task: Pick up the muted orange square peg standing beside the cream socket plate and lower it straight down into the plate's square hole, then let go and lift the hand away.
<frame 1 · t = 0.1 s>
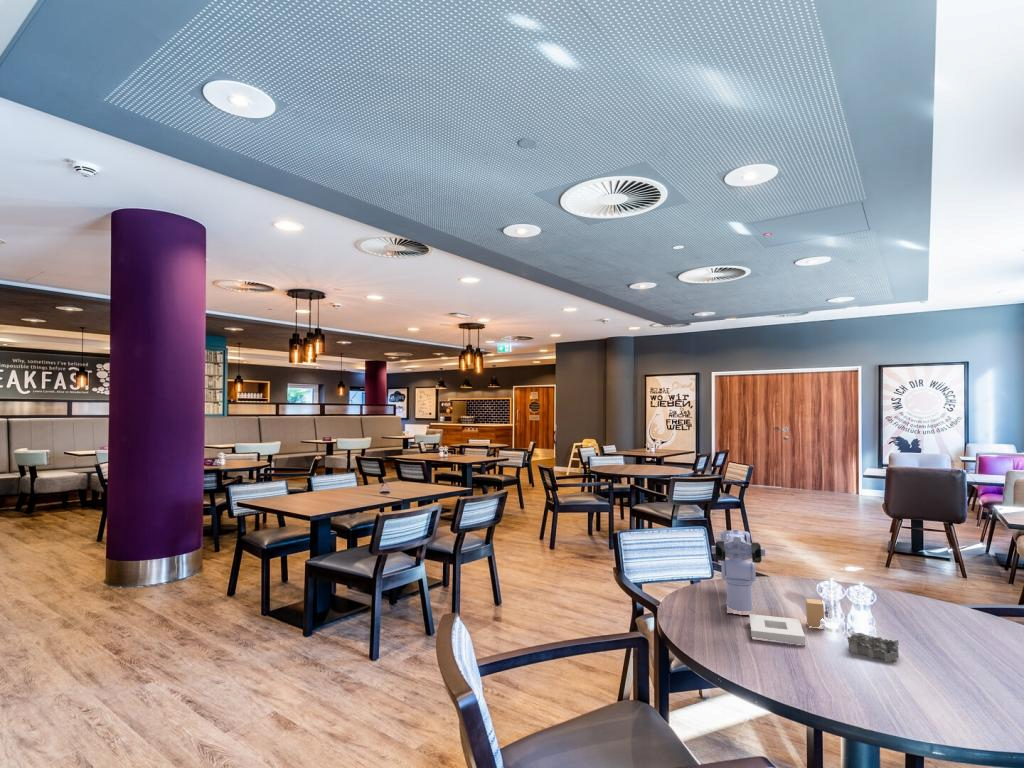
hand: (738, 555, 154), 22 cm above the table, tool horizontal, fingers open, 7 cm apart
egg carton: (873, 654, 140), on the table
socket plate: (776, 633, 153), on the table
peg: (815, 626, 158), on the table
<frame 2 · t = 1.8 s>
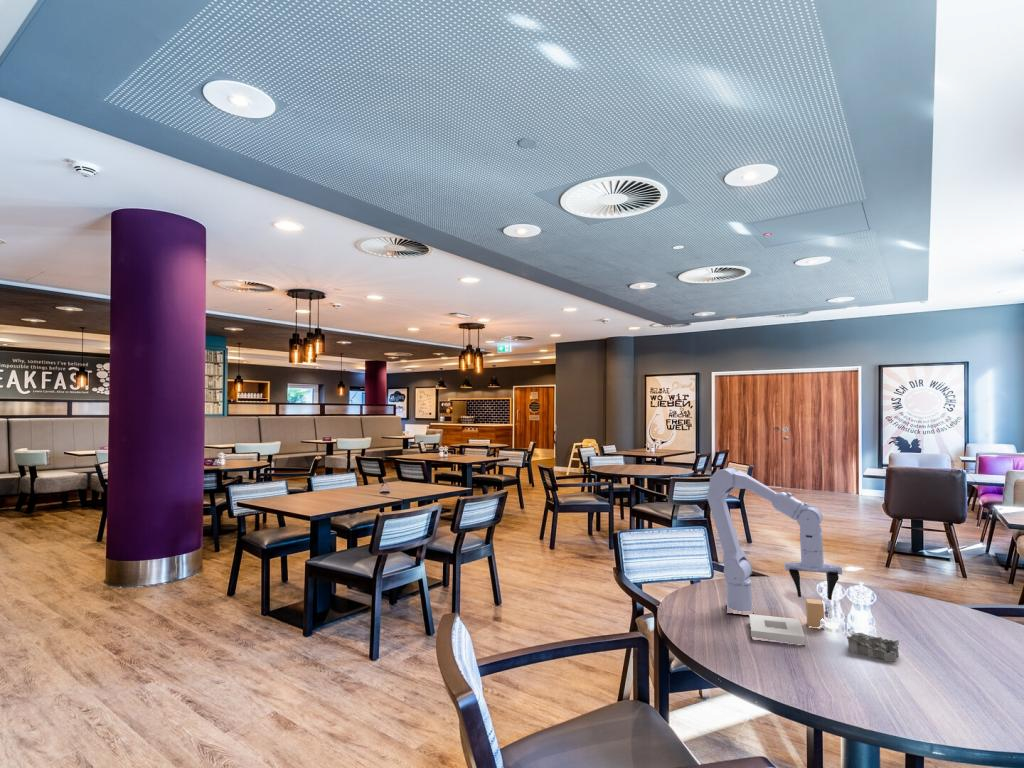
hand: (814, 597, 158), 8 cm above the table, tool pointing down, fingers open, 7 cm apart
nothing on the table moved.
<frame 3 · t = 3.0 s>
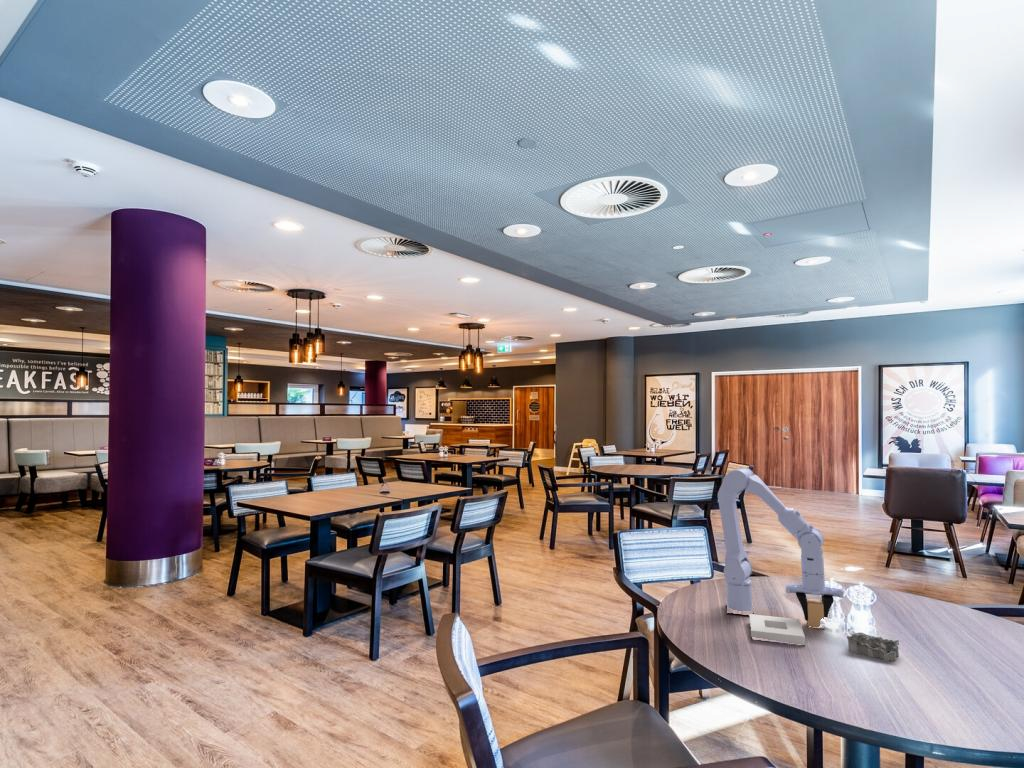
hand: (815, 620, 158), 2 cm above the table, tool pointing down, fingers closed on peg, 4 cm apart
peg: (815, 626, 158), on the table, touching gripper
everything else where it was.
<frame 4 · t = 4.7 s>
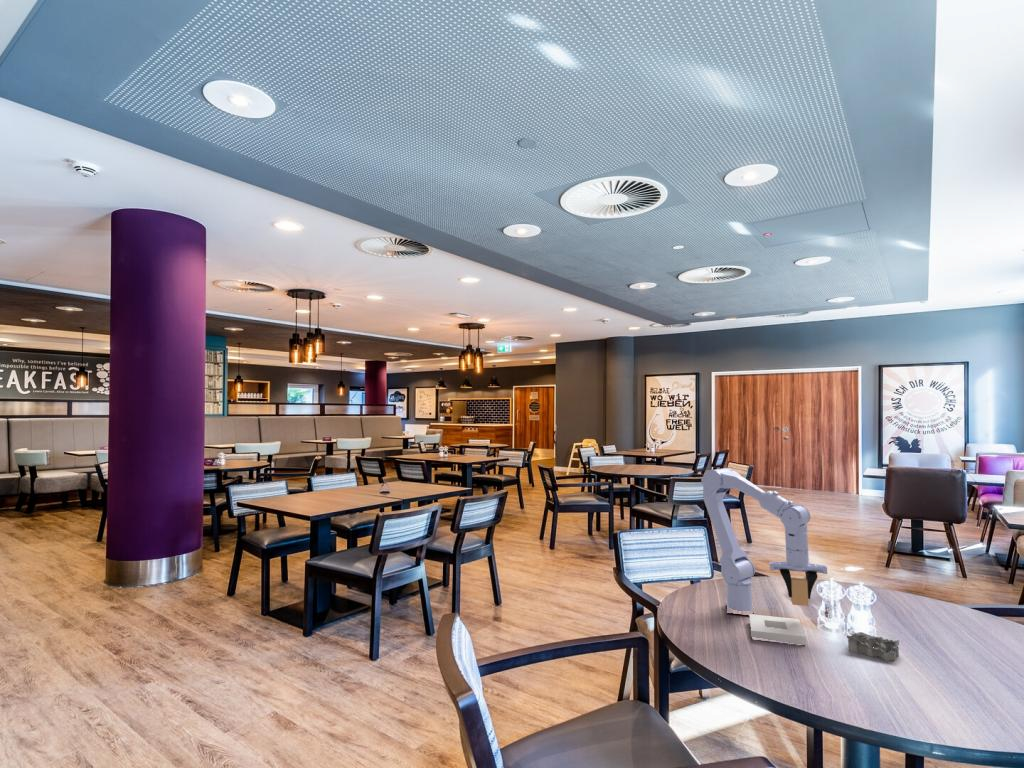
hand: (799, 597, 157), 9 cm above the table, tool pointing down, fingers closed on peg, 4 cm apart
peg: (799, 603, 156), point 7 cm above the table, touching gripper
everything else where it was.
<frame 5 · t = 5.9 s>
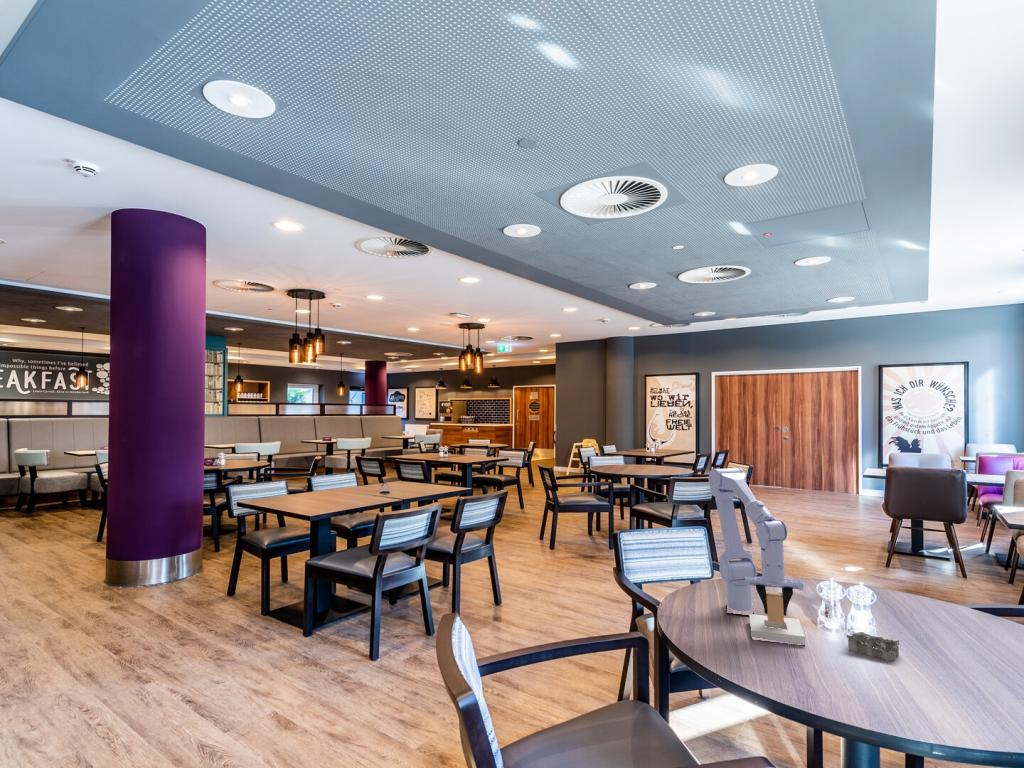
hand: (775, 613, 153), 6 cm above the table, tool pointing down, fingers closed on peg, 4 cm apart
peg: (775, 619, 153), point 4 cm above the table, touching gripper
everything else where it was.
when the fingers open (3 cm above the table, at t = 6.8 s): peg drops 1 cm, resting in socket plate.
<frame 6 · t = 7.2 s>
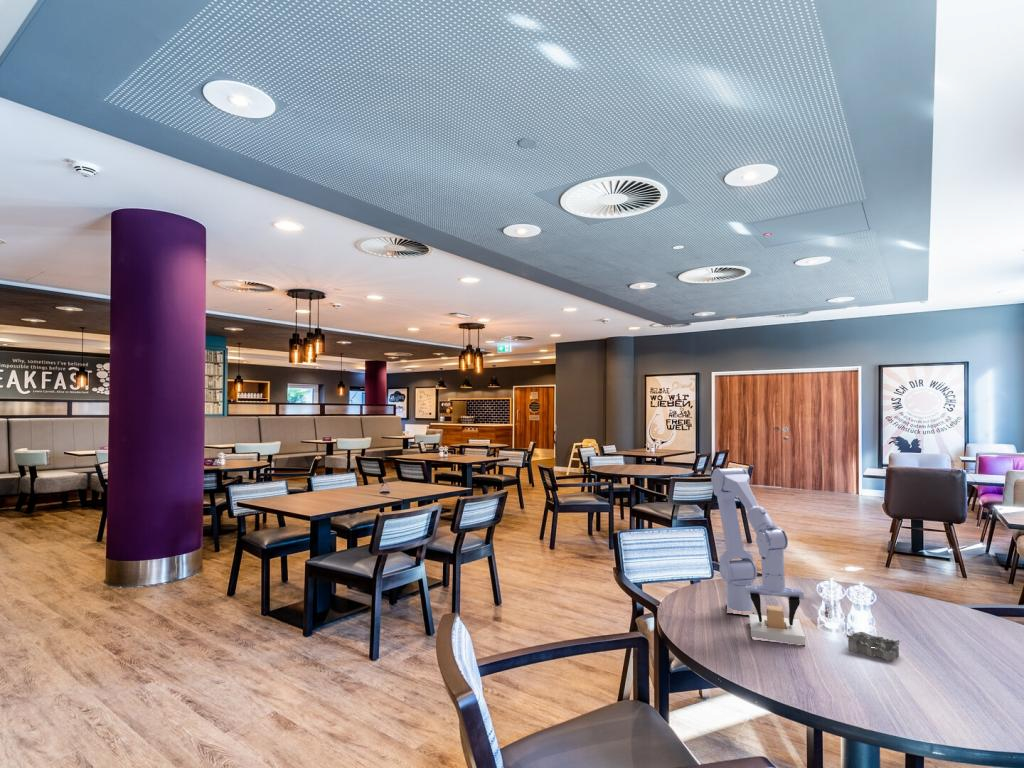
hand: (775, 622, 153), 3 cm above the table, tool pointing down, fingers open, 7 cm apart
peg: (776, 634, 153), resting in socket plate
everything else where it was.
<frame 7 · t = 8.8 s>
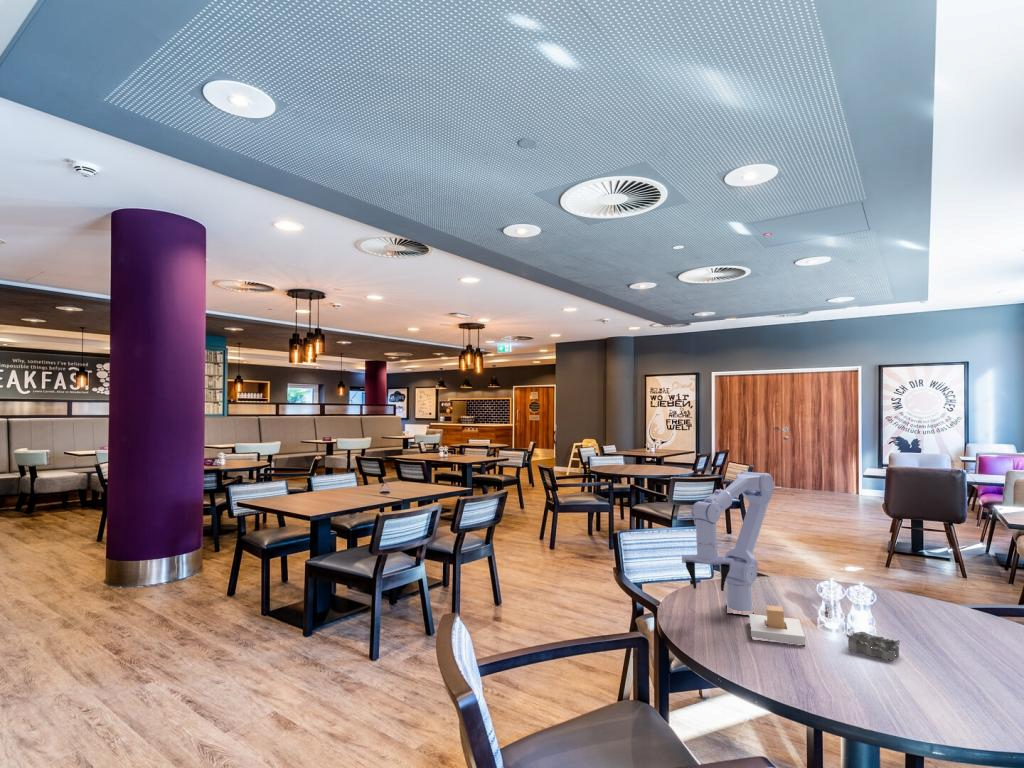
hand: (708, 588, 164), 9 cm above the table, tool pointing down, fingers open, 7 cm apart
nothing on the table moved.
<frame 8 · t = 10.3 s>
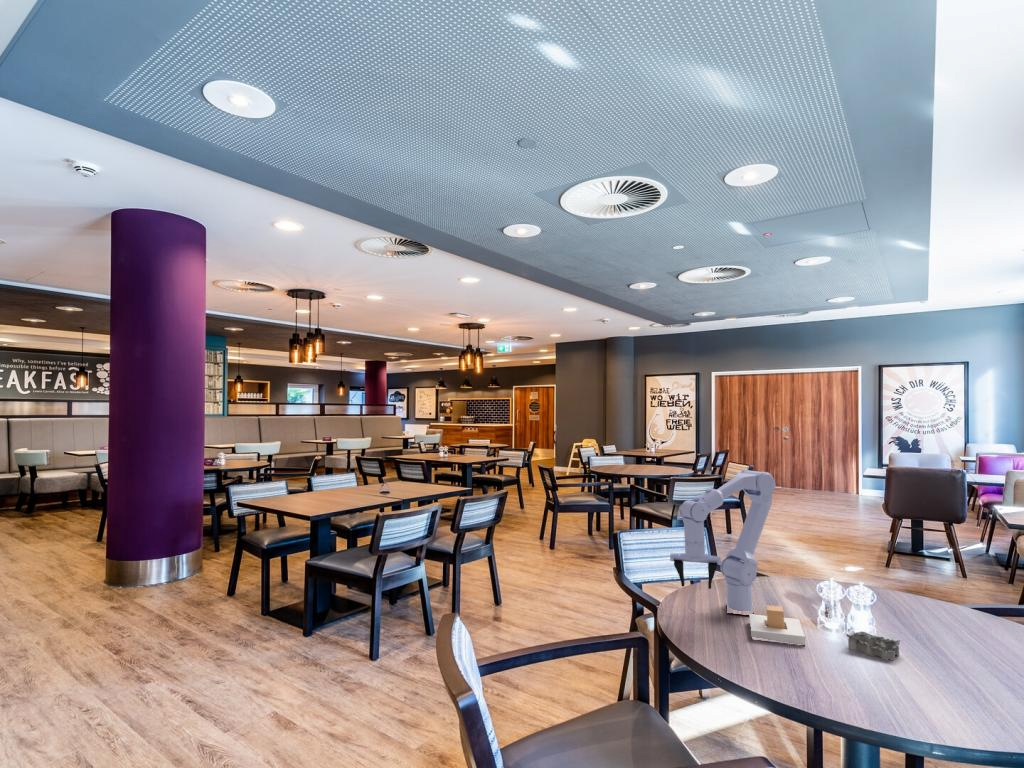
hand: (696, 586, 166), 9 cm above the table, tool pointing down, fingers open, 7 cm apart
at the end: peg 0.0 cm off-centre on the socket plate, point 0.0 cm above the socket plate's base; peg tilted 0°; the gripper is holding nothing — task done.
